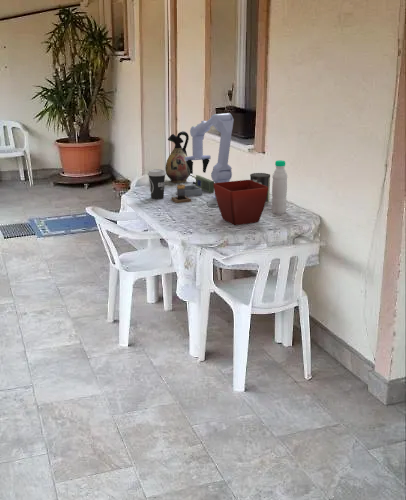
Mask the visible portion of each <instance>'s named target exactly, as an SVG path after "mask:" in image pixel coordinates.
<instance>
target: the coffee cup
mask: <svg viewBox="0 0 406 500" xmlns="http://www.w3.org/2000/svg"><path fill="white" fill-rule="evenodd" d="M147 176H148V181H149V188H150V189H149V190H150V198H151V200H163V199H164V198H165V196H164V195H165V179H166V176H167V174H166V171H165V170H164V169H162V168H158V169H157V168H154V169H153V168H152V169H150V170H148V172H147Z"/></svg>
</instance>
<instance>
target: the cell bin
mask: <svg viewBox="0 0 406 500" xmlns="http://www.w3.org/2000/svg"><path fill="white" fill-rule="evenodd" d="M185 196H187V197H193V196H194V197H195V196H203V190H202V189H201V188H199V187H197V186H196V185H195V184H191V185H185Z"/></svg>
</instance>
